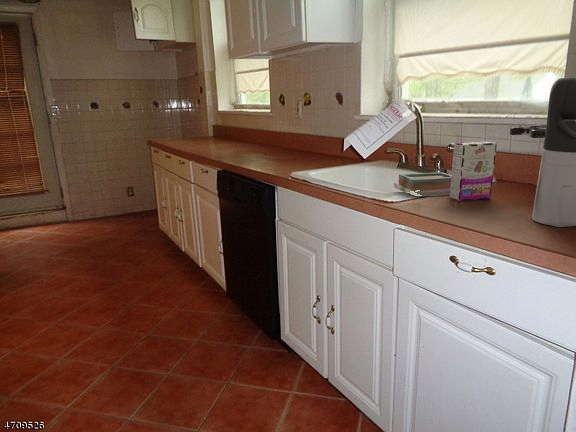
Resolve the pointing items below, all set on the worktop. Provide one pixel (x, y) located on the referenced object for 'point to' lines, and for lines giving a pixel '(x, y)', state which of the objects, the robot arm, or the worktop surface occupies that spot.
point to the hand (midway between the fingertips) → (521, 132)
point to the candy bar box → (472, 170)
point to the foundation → (425, 183)
